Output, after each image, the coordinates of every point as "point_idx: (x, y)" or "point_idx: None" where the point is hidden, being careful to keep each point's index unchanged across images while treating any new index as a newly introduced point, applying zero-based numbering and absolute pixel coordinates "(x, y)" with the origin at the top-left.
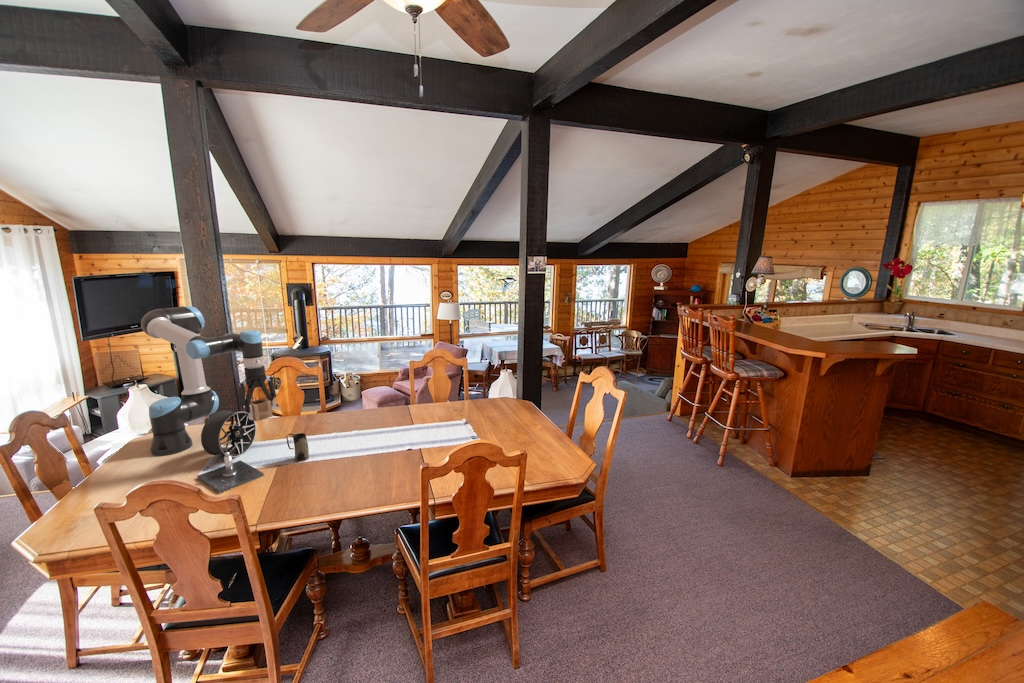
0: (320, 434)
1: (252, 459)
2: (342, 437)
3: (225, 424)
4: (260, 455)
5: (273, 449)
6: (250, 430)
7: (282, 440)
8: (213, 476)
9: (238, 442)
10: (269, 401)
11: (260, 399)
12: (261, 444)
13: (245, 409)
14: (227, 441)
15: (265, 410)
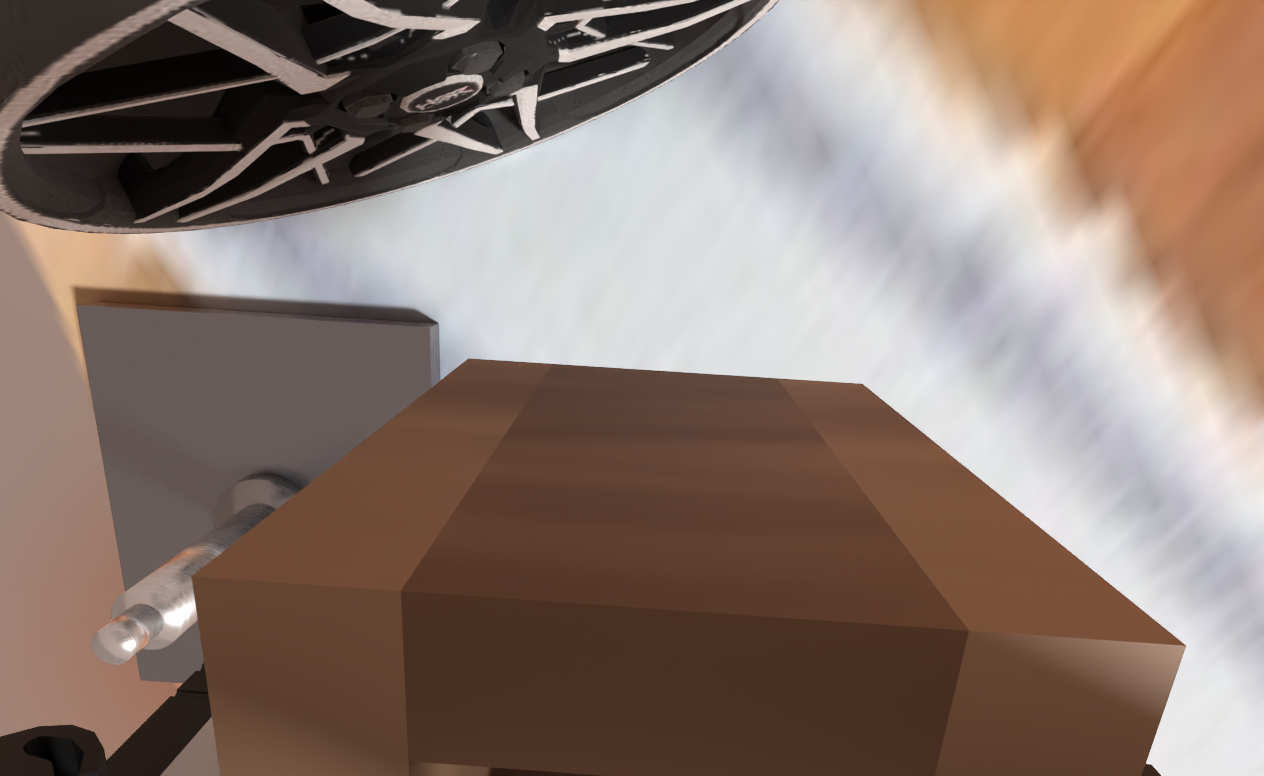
0: (1229, 395)
1: (533, 348)
2: (1231, 635)
3: (71, 117)
4: (617, 331)
5: (759, 311)
6: (675, 27)
7: (952, 173)
8: (171, 437)
9: (483, 104)
10: None
11: (984, 686)
12: (777, 62)
13: (174, 708)
14: (287, 169)
15: None
